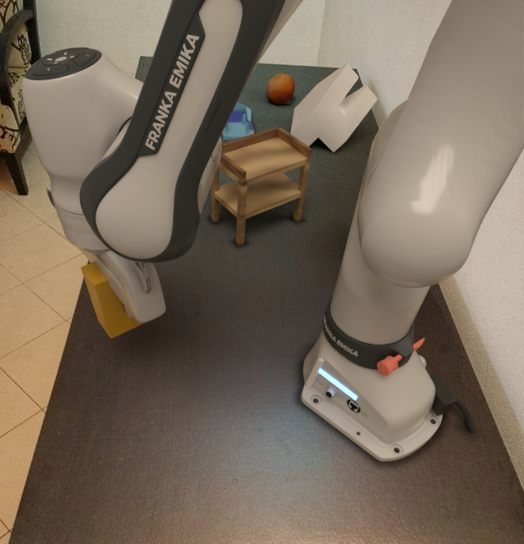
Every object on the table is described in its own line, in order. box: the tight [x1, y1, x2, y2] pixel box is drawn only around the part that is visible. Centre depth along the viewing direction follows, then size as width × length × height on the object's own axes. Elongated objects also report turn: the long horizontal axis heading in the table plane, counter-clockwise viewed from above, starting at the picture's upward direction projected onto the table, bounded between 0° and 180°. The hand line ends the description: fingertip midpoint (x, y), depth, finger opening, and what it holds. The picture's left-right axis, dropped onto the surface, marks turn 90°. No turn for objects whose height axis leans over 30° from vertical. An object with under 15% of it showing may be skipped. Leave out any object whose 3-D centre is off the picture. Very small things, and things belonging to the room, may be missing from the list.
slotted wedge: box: [289, 62, 378, 153], centre depth 116 cm, size 14×11×18 cm
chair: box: [221, 102, 252, 143], centre depth 107 cm, size 8×8×12 cm
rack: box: [210, 126, 313, 246], centre depth 92 cm, size 10×16×16 cm, turn 127°
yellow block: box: [80, 262, 142, 340], centre depth 63 cm, size 4×7×10 cm, turn 127°
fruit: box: [265, 73, 296, 106], centre depth 131 cm, size 8×8×8 cm
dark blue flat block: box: [228, 111, 255, 134], centre depth 122 cm, size 2×8×12 cm
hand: (122, 301), depth 64 cm, fingers closed on yellow block, 4 cm apart
